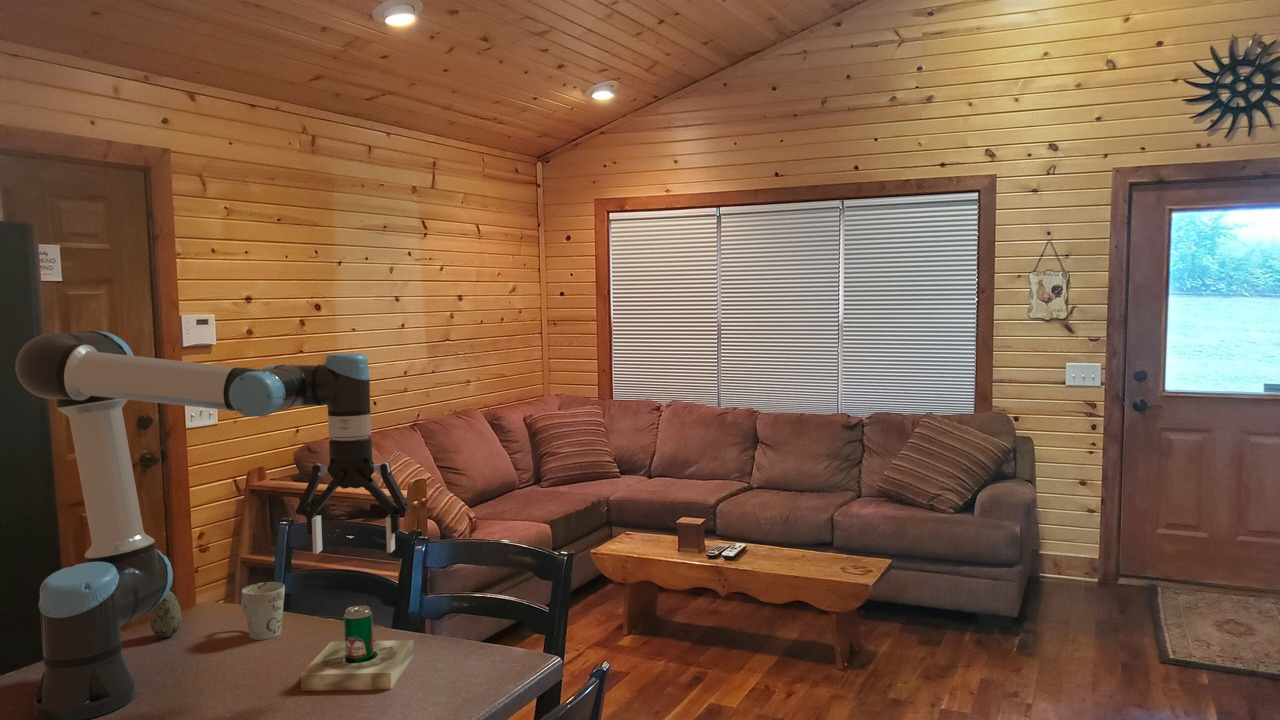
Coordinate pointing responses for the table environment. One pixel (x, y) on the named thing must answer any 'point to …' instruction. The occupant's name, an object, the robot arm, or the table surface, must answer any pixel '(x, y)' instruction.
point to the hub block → (357, 667)
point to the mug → (263, 609)
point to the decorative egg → (166, 616)
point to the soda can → (358, 634)
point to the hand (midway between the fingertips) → (354, 551)
